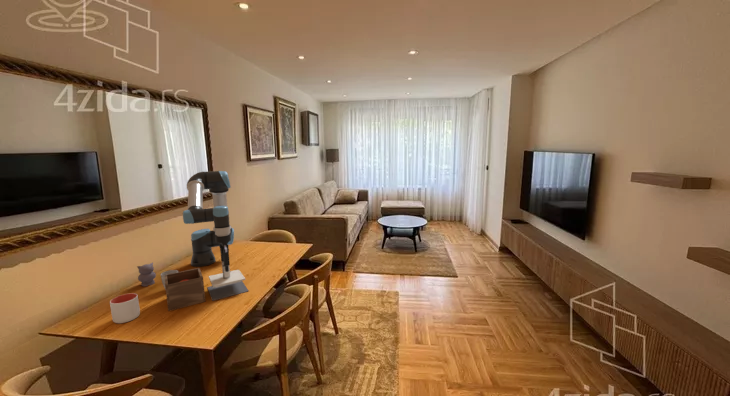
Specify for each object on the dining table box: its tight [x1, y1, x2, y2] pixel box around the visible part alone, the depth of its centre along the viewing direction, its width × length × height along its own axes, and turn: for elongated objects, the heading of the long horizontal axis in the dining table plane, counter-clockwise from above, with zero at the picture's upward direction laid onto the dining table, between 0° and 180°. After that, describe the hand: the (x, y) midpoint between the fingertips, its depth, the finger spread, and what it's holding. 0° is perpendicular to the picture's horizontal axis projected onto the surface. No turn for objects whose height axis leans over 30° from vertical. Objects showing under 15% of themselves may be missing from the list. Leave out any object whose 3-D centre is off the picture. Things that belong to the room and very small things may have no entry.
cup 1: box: [109, 292, 141, 324], centre depth 136 cm, size 10×10×10 cm
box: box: [164, 267, 206, 312], centre depth 153 cm, size 16×16×13 cm
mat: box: [206, 280, 250, 302], centre depth 165 cm, size 19×18×1 cm
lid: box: [208, 261, 246, 288], centre depth 163 cm, size 16×16×11 cm
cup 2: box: [160, 269, 179, 291], centre depth 165 cm, size 8×8×10 cm
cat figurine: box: [136, 262, 157, 287], centre depth 172 cm, size 8×8×12 cm
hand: (226, 275), depth 163 cm, fingers closed on lid, 4 cm apart
